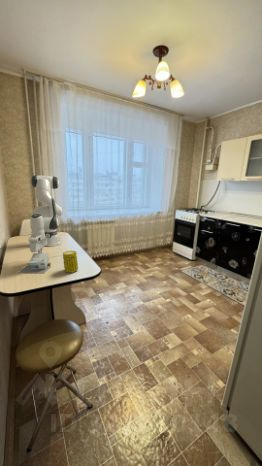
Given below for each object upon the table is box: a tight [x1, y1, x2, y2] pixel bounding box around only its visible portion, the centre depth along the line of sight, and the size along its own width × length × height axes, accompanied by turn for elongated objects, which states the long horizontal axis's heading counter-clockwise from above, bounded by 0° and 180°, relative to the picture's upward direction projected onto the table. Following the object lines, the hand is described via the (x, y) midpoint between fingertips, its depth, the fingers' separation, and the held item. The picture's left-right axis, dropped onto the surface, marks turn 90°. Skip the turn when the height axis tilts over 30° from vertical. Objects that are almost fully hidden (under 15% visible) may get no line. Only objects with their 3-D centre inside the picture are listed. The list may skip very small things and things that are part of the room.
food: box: [62, 250, 79, 274], centre depth 138 cm, size 15×12×10 cm
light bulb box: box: [28, 252, 50, 270], centre depth 142 cm, size 11×7×11 cm
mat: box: [17, 264, 52, 274], centre depth 140 cm, size 12×18×1 cm, turn 90°
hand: (40, 253), depth 147 cm, fingers closed
